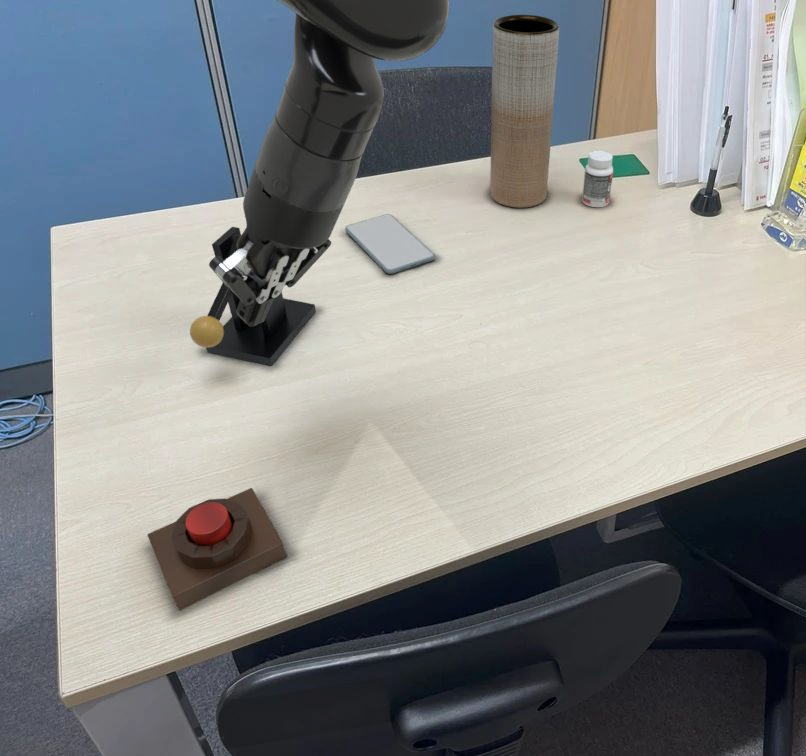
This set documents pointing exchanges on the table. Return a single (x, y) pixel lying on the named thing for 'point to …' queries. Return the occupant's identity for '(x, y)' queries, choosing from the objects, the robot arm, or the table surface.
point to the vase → (522, 108)
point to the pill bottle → (598, 179)
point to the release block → (217, 551)
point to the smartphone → (389, 243)
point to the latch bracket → (264, 337)
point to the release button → (208, 523)
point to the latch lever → (213, 315)
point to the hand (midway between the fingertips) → (249, 318)
